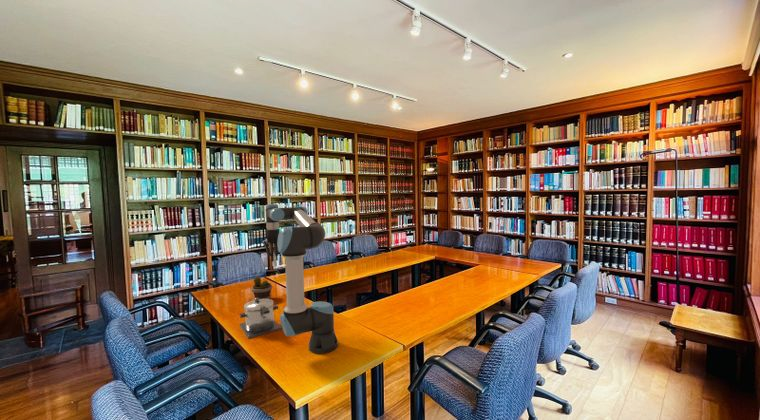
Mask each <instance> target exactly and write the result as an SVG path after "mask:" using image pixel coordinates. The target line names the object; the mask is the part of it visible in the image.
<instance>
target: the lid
mask: <svg viewBox="0 0 760 420" xmlns="http://www.w3.org/2000/svg"><path fill="white" fill-rule="evenodd" d="M271 306H274V300H273V299H272V298H269V299H259V298H255V299H253V300H250V301H247V302H245V304H244V305H243V307H244V308H243V310H244V311H245V310H247V311H259V310H260V311H261V312H262V313H263V314H267V313H270V312H269V309H267V308H270V307H271Z"/></svg>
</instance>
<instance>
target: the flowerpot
mask: <svg viewBox="0 0 760 420" xmlns="http://www.w3.org/2000/svg"><path fill="white" fill-rule="evenodd" d="M272 289H273V285H272V284H271V283H270V282H269V281H268V280H265V279H264V281H262V277H260V276H259V275H255V277H253V286H252V287H251V292H252V293H253V296H254V297H253V300H255V298H259V299H271V297H272V295H271V291H272Z"/></svg>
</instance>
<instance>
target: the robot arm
mask: <svg viewBox="0 0 760 420" xmlns="http://www.w3.org/2000/svg"><path fill="white" fill-rule="evenodd" d="M264 211H265V221H266V222H265V223H266V238H265V240H262V243H263V245H264V248H265V251H266V254H267V256H269V257H270V262H272V263H271V264H272V267H274V268H275V267H277V261H279V259H278V256H279V255H281V257H282V258H284V261H285V263H284V266H285V292H286V293H285V294H286V296H285V297H286V306H285V307H283V312H282V313H280V315H279V319H280V324H281V325H280V326H281V327H282V331H283V333H284V335H285V336H286V337H293V336H297V335H298V336H299V335H302V334H306V333H310V332H311V334H310V339H309V342H308V350H309V351H310V352H312V353H314V354H328V353H331V352H333V351H335V350H336V349H337V348H338V347H339V343H338V342H339V341H338V337H337V335H336V332H335V321H334V315H335V313H334V305H333V304H332V303H330V302H327V301H314V302H312V303H310V306H308V304H306V303H305V279H304V278H305V277H304V276H305V275H304V272H305V271H304V257H305V256H306V255H307V250H312V249H316V248H318V247H320V246H321V244H322V243H323V242H324V241H325V238H326V230H325V228H324V227H323V225H321V224H320V223H319V222H316V221H315V220H314V219H313V218H312V217H311V216H310V215H309V213H308V208H307V207H306V206H295V207H293V206H292V207H291V206H290V207H279V204H277V203H270V204H268V203H267V204H266V205H265V210H264ZM289 220H294V221H295V222H296V224H298V225H299V226H289V227H284V228H283V227H282V229H280V221H289Z"/></svg>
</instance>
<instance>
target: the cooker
mask: <svg viewBox="0 0 760 420" xmlns="http://www.w3.org/2000/svg"><path fill="white" fill-rule="evenodd" d="M267 309H269V312H270V313H267V314H263V313H262V312H261V311H260V310H259V311H247V310H245V309H244V312H242V313H239V318H240V319H243V318H245V322H242V323H241V322H240V323H238V324H239V328H241V330H242V331H243V333H244V335H245V336H246V338H247V339H248V340H249V339H253V338H256V337H258V336H263V335H265V334H268V333H269V334H270V333H273V332H277V331H281V330H283V328H282V325H280V324H279V323H278V322H277V321H276V320H275V317H274V316H275V314H274V311H275V310H279V306H278V305H277V304H275V305H273V306H271V307H270V308H267Z"/></svg>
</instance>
